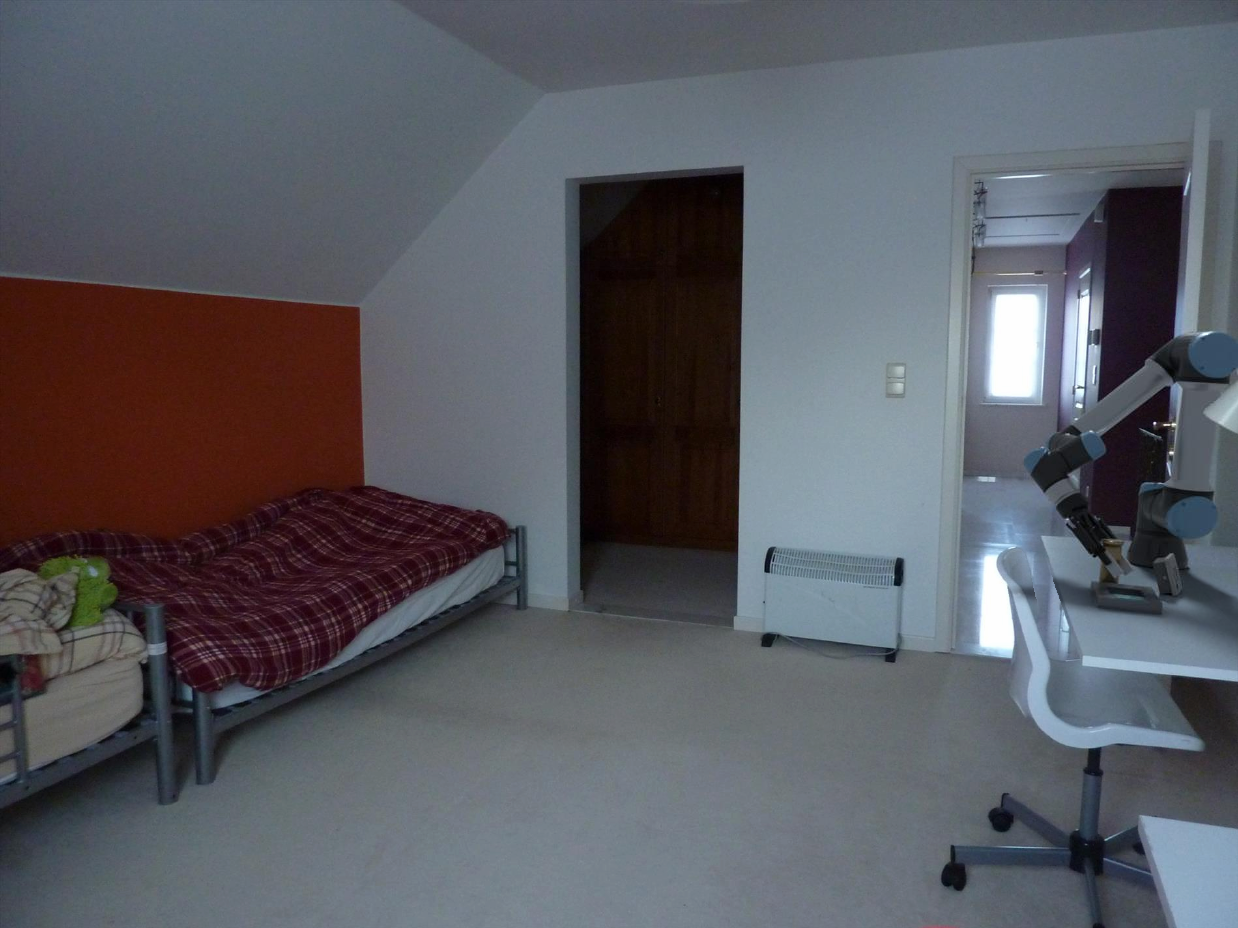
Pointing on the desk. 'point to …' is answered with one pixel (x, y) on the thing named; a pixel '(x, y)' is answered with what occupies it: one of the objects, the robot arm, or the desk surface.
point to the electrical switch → (1167, 575)
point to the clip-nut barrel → (1115, 550)
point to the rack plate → (1126, 597)
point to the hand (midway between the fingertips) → (1124, 573)
